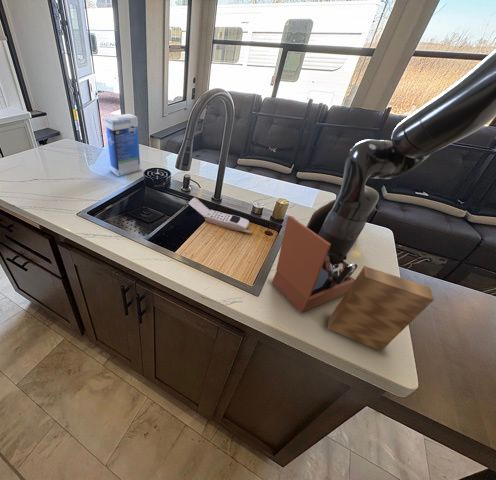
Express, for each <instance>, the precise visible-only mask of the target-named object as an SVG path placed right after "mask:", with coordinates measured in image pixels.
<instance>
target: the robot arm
mask: <svg viewBox="0 0 496 480" xmlns="http://www.w3.org/2000/svg"><path fill="white" fill-rule="evenodd" d="M494 118H496V48H494V49H493V50H492V51H491V52H490V53H489V54H488V55H486V56H485V58H483V59H482V60H481V61H480V62H479V63H478V64H476V65H475V66H474V67H473V68H472V69H471V70H469V71H468V72H466V74H465V75H463V76H462V77H461V78H460V79H459V80H457V81H456V82H455V83H453V84H452V85H451V86H450V87H448V88H447V89H445V90H444V91H443V92H441V93H440V94H439V95H437V96H436V97H434V98H433V99H431V100H430V101H428V102H427V103H425V104H424V105H423V106H420V108H419V109H416V110H415V111H413V112H412V114H410V115H408V116H407V117H406V118H404V119H403V120H401V122H399V123H398V124H397V125H396V127H395V128H393V129H394V130H393V131H392V134H391V140H386V139H385V140H384V139H383V140H382V139H380V140H379V139H364V140H361V141H359V142H357V143H355V145H354V146H352V147H351V149H350V150H349V152H348V153H347V155H346V158H345V161H344V167H343V175H342V180H341V186H340V191H339V194H338V196H337V198H336V199H337V200H336V202H335V204H334V206H333V208H332V210H331V211H330V212H329V214H328V216H327V218H326V219H325V222H324V224H323V226H322V228H321V230H320V232H319V234H318V235H319V236H320V237H322V238H323V239H324V240H326V241H327V242H329V243H330V244H331V246H330V248H329V251H328V253H327V256H326V258H325V261H324V263H323V264H324V265H325V266H326V271H327V272H328V278H327V279H326V281H325V283H324V284H323V286H322V288H323V289H324V290H325V289H329V288H332V287H333V285H334V284H335V282H336V283H337V284H341V283H343V282H346V281H347V280H348V279H349V277H350V276H351V277H352V276H353V274H354V273H355V271H357V269H358V264H357V263H351V262H350V261H348V259H347V257H348V254H349V252H350V251H351V250H352V248H353V246H354V245H355V243H356V241H357V240H358V238H359V236H360V235H361V233H362V232H363V229H364V228H365V226H366V223H367V221H368V220H369V217H370V215H371V214H372V212H373V211H374V209H375V207H376V205H377V204H378V201H379V199H380V194H379V192H378V191H377V190H376V189H375V188H373V187H370V186H368V185H366V183H367V181H368V179H375V180H378V179H379V180H392V179H396V178H400V177H402V176H404V175H407V174H409V173H410V172H412V171H414V169H416V168H417V167H419V165H420V164H422V163H423V162H424V161H425V160H427V159H428V158H429V157H430V156H431V155H432V154H434V153H436V152H438V151H441V150H442V149H444V148H446V147H448V146H450V145H453V144H454V143H457V142H459V141H461V140H463V139H465V138H467V137H468V136H470V135H472V134H474V133H476V132H478V131H479V130H480V129H482V128H484V127H485V126H486V125H487V124H489V123H490V122H491V121H492V120H494ZM341 264H342V267H341ZM333 265H334V266H333ZM332 266H333V267H332ZM340 269H342V270H343V271H342V272H341V274H340V275H339V270H340Z"/></svg>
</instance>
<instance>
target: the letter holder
mask: <svg viewBox="0 0 496 480" xmlns="http://www.w3.org/2000/svg"><path fill="white" fill-rule="evenodd" d="M336 200H337V198H335V199H333V200H331V201H330V202H328V203H326V204H324V205H322V206H320V207H319V208H318V209H316V210H315V211H314V212H313V213H312V215H311V217H310V219H309V221H308V223H307V225H306V227H307V228H309V229H310V230H311V231H313V232H314V233H316V234H317V235H318V234H319V232H320V230H321V228H322V226H323V224H324V222H325V219H326V218H327V216H328V214H329V212H330V211H331V210H332V208H333V206H334V204H335V202H336Z"/></svg>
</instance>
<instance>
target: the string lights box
mask: <svg viewBox="0 0 496 480" xmlns="http://www.w3.org/2000/svg"><path fill="white" fill-rule="evenodd" d="M138 121H139V120H138V116H137V115H134V114H132V113H124V114H123V113H122V114H117V115H110V116H104V124H105V131H106V139H107V140H106V141H107V147H108V155H109V164H110V171H111V173H113V174H115V175H116V177H121V176H125V175H128V174H133V173H135V172H136V173H137V172H139V171H141V160H140V158H141V157H140V140H139V138H140V137H139V122H138Z"/></svg>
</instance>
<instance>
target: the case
mask: <svg viewBox="0 0 496 480" xmlns="http://www.w3.org/2000/svg"><path fill="white" fill-rule="evenodd" d="M333 266H334V265H333ZM333 266H332V267H333ZM322 268H323V269H324V270H325V271H326V266H325V265H324V264H323V266H322ZM342 271H343V270H342V268H340V270H339V275H340V274H341V272H342ZM355 279H356V278H354V277H352V275H351V276H350V277H349V279H348V280H347V281H346V282H343V283H341V284H337V283H336V284H335V285H334V287H332V288H329V289H326V290H324V291H322V292H319V293H317V294H314V295H312V296H310V299H309V300H307V299H306V298H305V297H304V296H303V295H302V294H301V293H300V292H299V291H298V290H297V289H296V288H294V287H293V286H292V285H291V284H290V283H289V282H288V281H287V280H286V279H285V278H284V277H283V276H282V275H281V274H280V273H279V272H278V271H277V270H275V273H274V276H273V279H272V281H271V283H272V284H273V286H274V287H276V288H277V289H278V290H279V292H281V294H282V295H284V297H285V298H286V299H288V301H289V302H290V303H291V304H292V305H293V306H294V307H295V308H296V309H297V310H298V311H299V312H300V313H303V312H306V311H308V310H311V309H313V308H315V307H318V306H321V305H322V304H324V303H327V302H329V301H331V300H333V299H335V298H336V299H337V298H338V297H340V296H344V295H345V294H346V292H347V291H348V289H349V288H350V287H351V285H352V284H353V282H354V281H355Z"/></svg>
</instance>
